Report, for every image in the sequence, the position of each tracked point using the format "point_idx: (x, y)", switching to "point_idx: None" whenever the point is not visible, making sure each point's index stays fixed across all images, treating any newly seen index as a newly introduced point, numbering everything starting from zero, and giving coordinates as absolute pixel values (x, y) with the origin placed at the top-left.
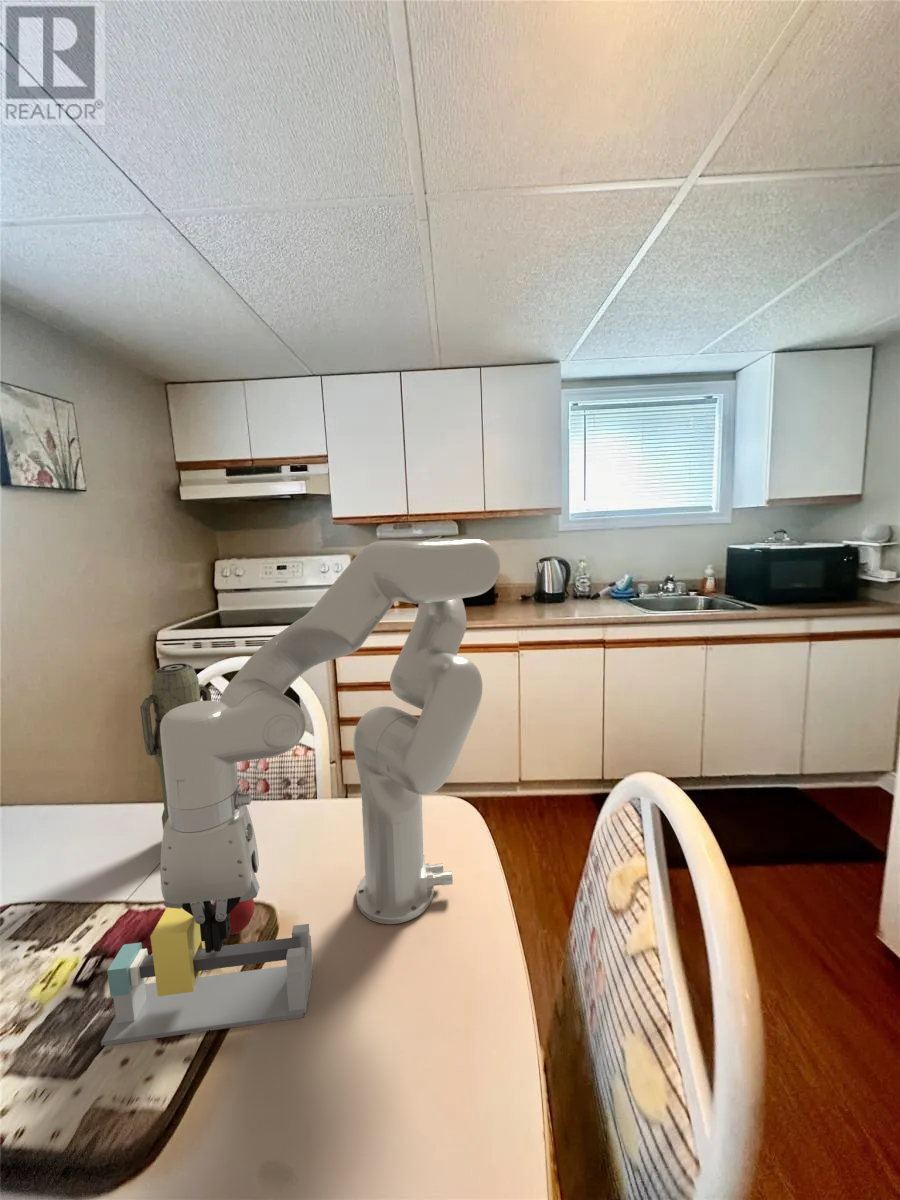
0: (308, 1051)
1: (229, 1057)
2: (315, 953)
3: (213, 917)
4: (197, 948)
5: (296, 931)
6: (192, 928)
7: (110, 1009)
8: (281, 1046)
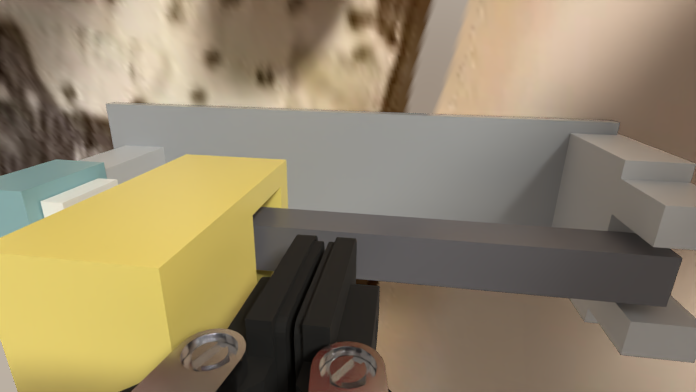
0: (587, 339)
1: (412, 311)
2: (629, 69)
3: (290, 385)
4: (253, 257)
5: (679, 244)
6: None
7: (98, 148)
8: (524, 316)
